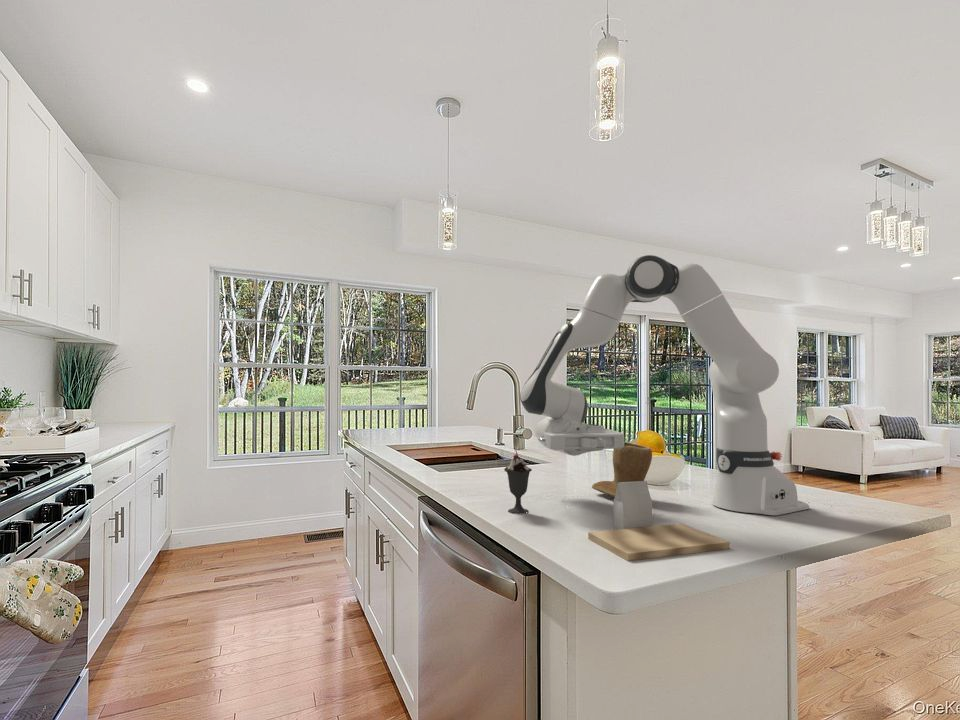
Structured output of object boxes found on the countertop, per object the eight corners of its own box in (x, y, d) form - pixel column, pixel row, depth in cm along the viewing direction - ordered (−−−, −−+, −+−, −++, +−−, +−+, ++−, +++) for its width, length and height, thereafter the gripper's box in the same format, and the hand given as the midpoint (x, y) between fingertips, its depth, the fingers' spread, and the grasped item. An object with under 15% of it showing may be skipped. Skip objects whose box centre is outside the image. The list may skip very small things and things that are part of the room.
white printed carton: (652, 531, 108) (651, 482, 108) (623, 533, 106) (622, 484, 106) (642, 526, 111) (641, 479, 112) (614, 529, 109) (613, 481, 110)
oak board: (681, 529, 109) (680, 523, 109) (730, 548, 96) (729, 541, 96) (588, 538, 102) (588, 532, 102) (627, 560, 89) (627, 553, 90)
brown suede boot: (662, 502, 134) (661, 443, 135) (624, 506, 130) (623, 445, 130) (626, 490, 148) (625, 438, 149) (590, 493, 144) (590, 439, 145)
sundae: (513, 506, 129) (513, 446, 129) (537, 510, 125) (536, 448, 125) (498, 512, 123) (498, 448, 124) (523, 516, 119) (522, 450, 120)
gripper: (535, 425, 131) (560, 431, 118) (606, 425, 137) (637, 430, 124) (534, 450, 131) (559, 459, 117) (606, 449, 137) (637, 456, 124)
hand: (600, 444), depth 121 cm, fingers closed
